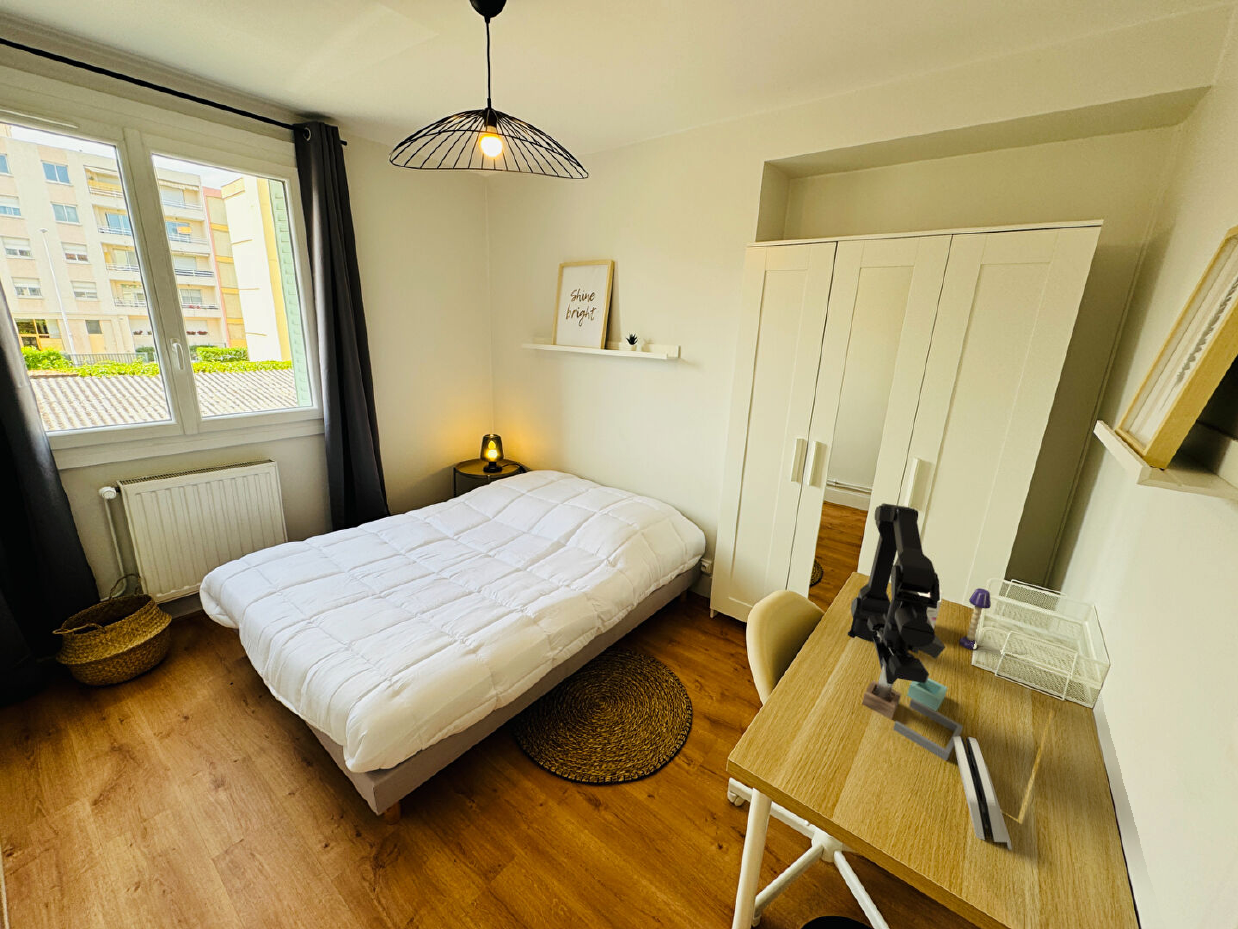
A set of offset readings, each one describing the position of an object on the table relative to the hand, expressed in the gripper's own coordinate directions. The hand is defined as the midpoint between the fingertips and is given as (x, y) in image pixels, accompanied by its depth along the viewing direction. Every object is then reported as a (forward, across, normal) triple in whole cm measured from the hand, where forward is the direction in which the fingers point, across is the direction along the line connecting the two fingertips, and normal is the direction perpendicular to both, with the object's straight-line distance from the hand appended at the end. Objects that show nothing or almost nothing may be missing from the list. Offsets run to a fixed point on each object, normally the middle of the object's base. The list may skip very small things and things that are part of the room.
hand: (887, 678), depth 105 cm
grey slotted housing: (+8, -20, -10) cm, 24 cm away
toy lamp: (+8, +31, -32) cm, 45 cm away
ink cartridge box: (+8, +35, -20) cm, 41 cm away
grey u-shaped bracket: (+8, -6, -7) cm, 12 cm away
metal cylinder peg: (+5, 0, 0) cm, 5 cm away
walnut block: (+8, 0, 0) cm, 8 cm away
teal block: (+8, +5, -11) cm, 15 cm away
